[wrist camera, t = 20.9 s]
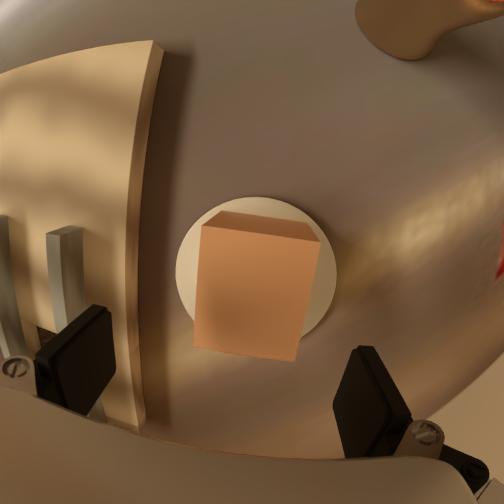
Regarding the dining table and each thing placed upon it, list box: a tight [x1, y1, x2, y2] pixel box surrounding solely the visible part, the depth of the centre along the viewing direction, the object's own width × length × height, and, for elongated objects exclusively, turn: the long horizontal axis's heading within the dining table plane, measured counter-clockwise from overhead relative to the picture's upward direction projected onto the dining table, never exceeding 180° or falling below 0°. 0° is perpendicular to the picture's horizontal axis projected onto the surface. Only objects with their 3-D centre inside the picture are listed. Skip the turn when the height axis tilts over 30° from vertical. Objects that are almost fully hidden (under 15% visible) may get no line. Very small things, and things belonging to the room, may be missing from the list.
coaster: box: [176, 196, 337, 337], centre depth 18 cm, size 10×10×1 cm
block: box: [193, 210, 321, 362], centre depth 15 cm, size 6×5×5 cm
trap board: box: [0, 40, 164, 433], centre depth 17 cm, size 30×16×4 cm, turn 172°
